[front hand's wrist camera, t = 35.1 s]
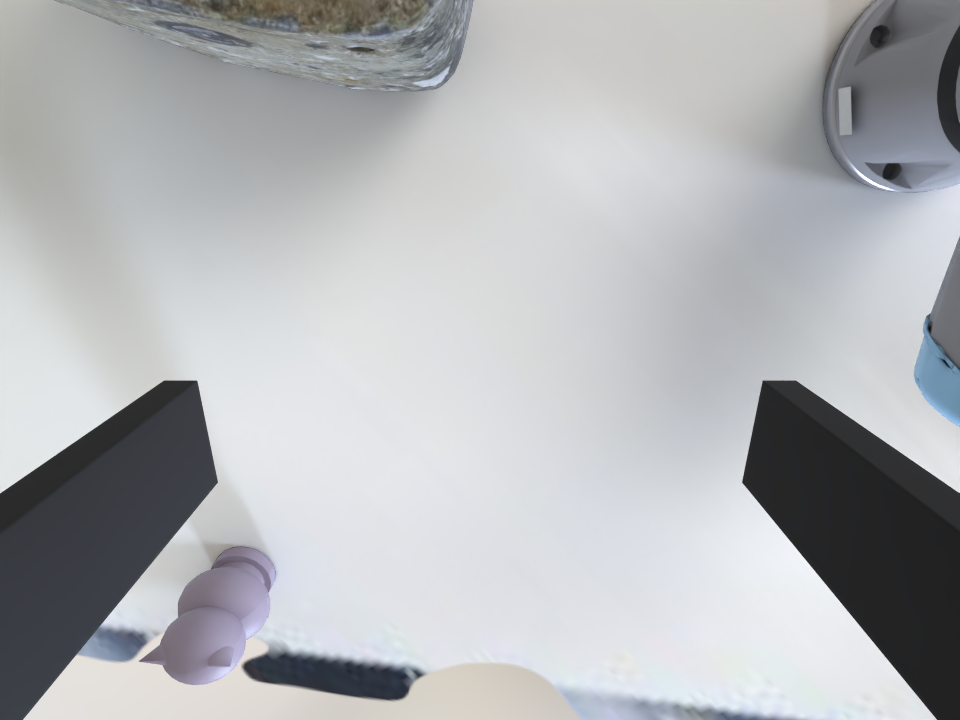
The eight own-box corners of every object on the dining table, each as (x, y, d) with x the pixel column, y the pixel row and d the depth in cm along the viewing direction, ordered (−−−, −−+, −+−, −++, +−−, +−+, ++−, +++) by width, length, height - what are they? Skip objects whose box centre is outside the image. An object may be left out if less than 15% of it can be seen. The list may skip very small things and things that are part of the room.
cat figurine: (209, 599, 57) (143, 705, 46) (198, 540, 55) (125, 638, 43) (288, 601, 57) (242, 708, 46) (281, 542, 55) (230, 640, 43)
